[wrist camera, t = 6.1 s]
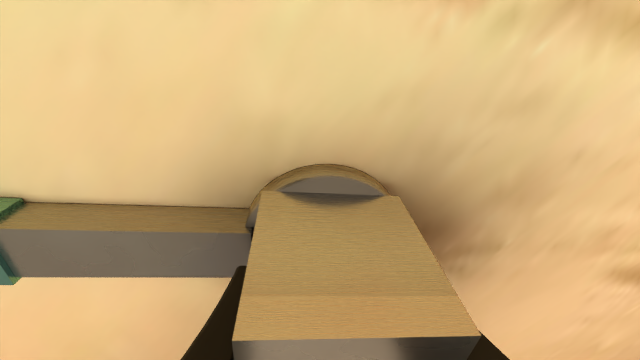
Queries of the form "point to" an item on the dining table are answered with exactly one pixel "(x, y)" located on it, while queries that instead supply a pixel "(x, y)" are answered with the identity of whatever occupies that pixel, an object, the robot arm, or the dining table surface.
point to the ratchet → (148, 232)
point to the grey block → (345, 284)
